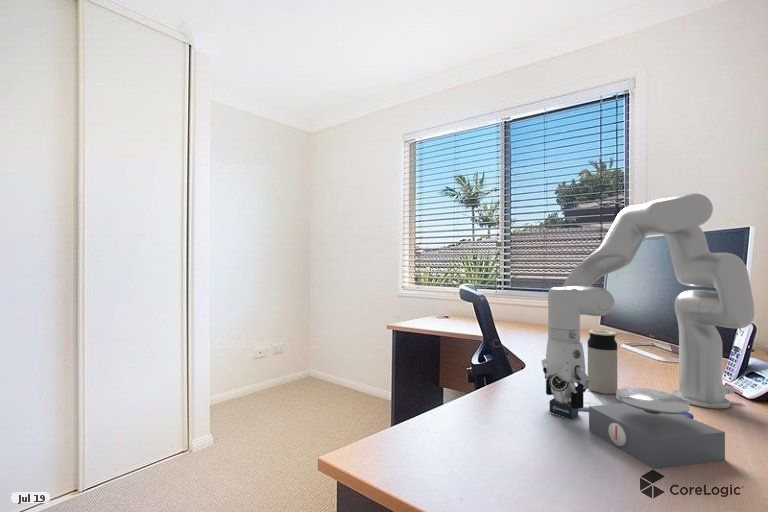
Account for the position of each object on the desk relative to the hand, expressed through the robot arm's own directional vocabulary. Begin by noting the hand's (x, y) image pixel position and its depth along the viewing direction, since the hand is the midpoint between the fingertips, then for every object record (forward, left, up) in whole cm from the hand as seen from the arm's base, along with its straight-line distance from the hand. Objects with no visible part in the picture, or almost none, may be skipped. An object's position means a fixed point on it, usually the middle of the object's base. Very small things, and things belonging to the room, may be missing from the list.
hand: (563, 400), depth 99 cm
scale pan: (-8, +18, +4) cm, 20 cm away
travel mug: (-24, -14, -4) cm, 28 cm away
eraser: (-24, +7, -4) cm, 26 cm away
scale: (-8, +18, -3) cm, 20 cm away
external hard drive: (-11, -6, -4) cm, 13 cm away
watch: (0, 0, -4) cm, 4 cm away
